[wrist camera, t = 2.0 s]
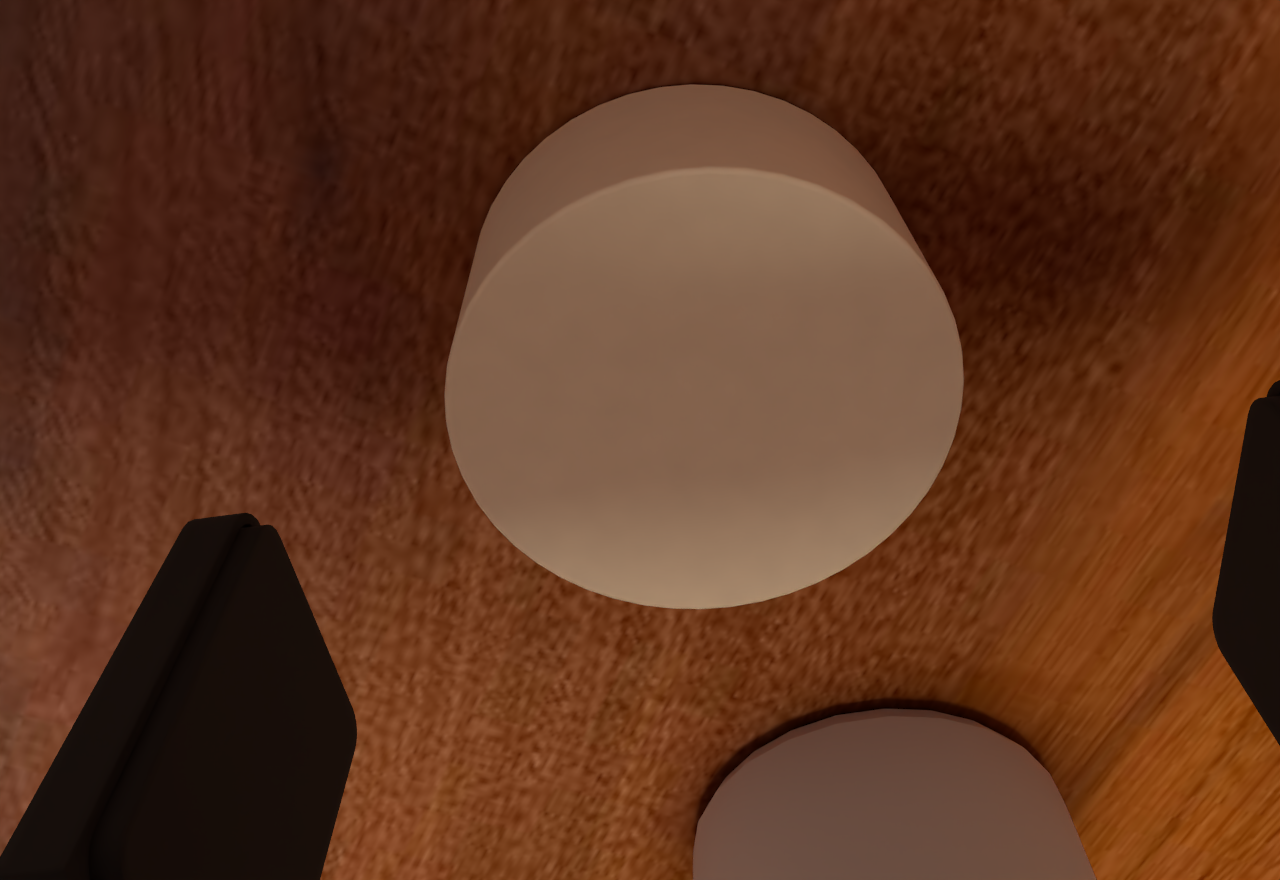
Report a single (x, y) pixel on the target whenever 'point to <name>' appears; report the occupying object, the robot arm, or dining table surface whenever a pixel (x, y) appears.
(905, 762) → the cup
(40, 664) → the dining table surface
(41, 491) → the dining table surface
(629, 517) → the wooden chip
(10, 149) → the dining table surface
